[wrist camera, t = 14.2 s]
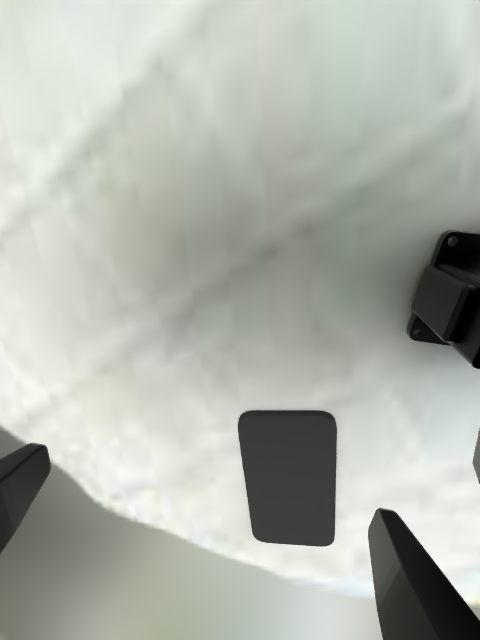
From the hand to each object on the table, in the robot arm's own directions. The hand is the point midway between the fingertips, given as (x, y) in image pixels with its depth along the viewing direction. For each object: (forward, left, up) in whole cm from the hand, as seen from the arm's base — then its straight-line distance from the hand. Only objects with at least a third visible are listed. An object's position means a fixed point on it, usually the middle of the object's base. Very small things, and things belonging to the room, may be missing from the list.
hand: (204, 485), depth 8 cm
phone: (-5, +15, -14) cm, 21 cm away
